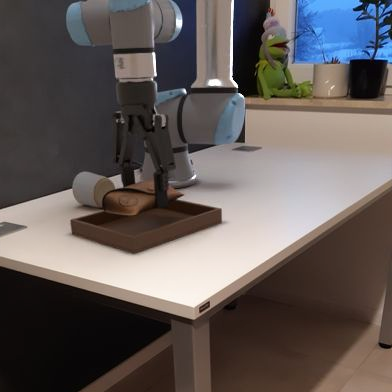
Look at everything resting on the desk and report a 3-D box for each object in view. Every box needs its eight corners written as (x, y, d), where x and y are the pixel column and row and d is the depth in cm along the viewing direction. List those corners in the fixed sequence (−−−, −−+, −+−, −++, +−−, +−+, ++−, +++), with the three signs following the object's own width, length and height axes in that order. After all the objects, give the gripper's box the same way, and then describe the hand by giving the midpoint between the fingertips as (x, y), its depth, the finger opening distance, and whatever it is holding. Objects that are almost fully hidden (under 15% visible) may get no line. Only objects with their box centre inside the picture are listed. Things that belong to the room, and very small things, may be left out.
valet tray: (72, 234, 111) (69, 219, 110) (158, 208, 126) (158, 195, 125) (134, 253, 99) (132, 237, 98) (221, 222, 114) (221, 208, 113)
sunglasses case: (136, 214, 101) (119, 181, 100) (113, 229, 106) (96, 198, 105) (187, 194, 114) (172, 165, 113) (165, 208, 119) (150, 180, 118)
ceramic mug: (97, 211, 125) (93, 177, 121) (73, 207, 130) (69, 174, 126) (129, 202, 132) (126, 170, 129) (106, 198, 137) (102, 167, 133)
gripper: (84, 81, 103) (98, 199, 114) (161, 82, 90) (169, 215, 101) (114, 78, 108) (125, 192, 119) (192, 79, 95) (196, 207, 106)
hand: (145, 203), depth 110 cm, fingers closed on sunglasses case, 9 cm apart
